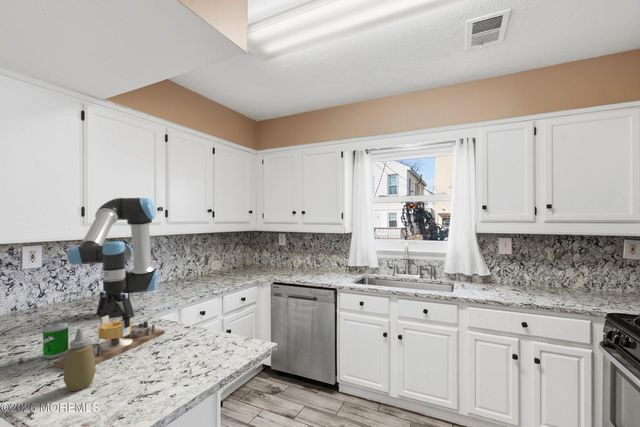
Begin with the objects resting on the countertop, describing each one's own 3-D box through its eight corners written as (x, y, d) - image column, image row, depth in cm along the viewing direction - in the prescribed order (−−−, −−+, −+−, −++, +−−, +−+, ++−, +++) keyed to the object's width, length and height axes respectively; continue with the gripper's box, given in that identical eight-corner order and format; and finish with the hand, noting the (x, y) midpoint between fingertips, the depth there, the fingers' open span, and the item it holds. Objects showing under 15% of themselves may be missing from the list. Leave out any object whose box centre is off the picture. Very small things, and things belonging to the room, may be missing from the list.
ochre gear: (118, 328, 132) (118, 318, 132) (137, 330, 128) (137, 321, 128) (92, 337, 122) (92, 327, 122) (111, 341, 118) (111, 330, 118)
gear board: (141, 330, 144) (141, 315, 144) (164, 333, 140) (164, 318, 140) (53, 366, 110) (52, 346, 110) (79, 372, 106) (79, 352, 106)
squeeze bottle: (102, 379, 101) (101, 324, 101) (83, 393, 93) (83, 333, 93) (76, 380, 101) (75, 324, 101) (56, 394, 92) (55, 334, 93)
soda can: (66, 349, 124) (65, 319, 125) (70, 354, 120) (70, 323, 120) (41, 356, 119) (40, 325, 119) (45, 361, 114) (44, 329, 114)
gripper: (85, 280, 126) (85, 334, 125) (126, 283, 118) (127, 340, 117) (103, 276, 133) (104, 327, 132) (143, 279, 125) (144, 333, 125)
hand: (115, 333), depth 125 cm, fingers closed on ochre gear, 11 cm apart
